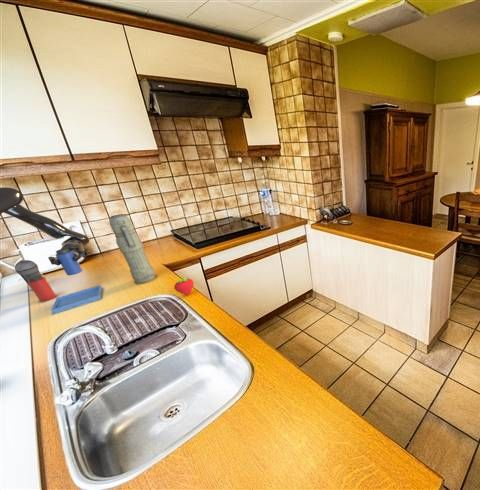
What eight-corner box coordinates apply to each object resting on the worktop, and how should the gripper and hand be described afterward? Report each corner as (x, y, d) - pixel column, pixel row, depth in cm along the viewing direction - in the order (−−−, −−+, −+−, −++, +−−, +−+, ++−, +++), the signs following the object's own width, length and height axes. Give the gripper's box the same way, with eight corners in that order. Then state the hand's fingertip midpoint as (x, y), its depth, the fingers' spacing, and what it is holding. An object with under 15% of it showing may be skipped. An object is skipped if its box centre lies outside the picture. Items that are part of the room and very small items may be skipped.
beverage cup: (25, 290, 135) (2, 255, 127) (45, 283, 142) (24, 249, 134) (32, 292, 133) (8, 256, 125) (52, 285, 139) (31, 250, 131)
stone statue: (140, 286, 133) (109, 219, 119) (131, 280, 138) (100, 216, 125) (160, 278, 139) (133, 214, 125) (150, 273, 145) (124, 211, 131)
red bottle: (39, 303, 123) (24, 281, 118) (41, 298, 127) (27, 277, 122) (55, 298, 126) (41, 276, 121) (57, 294, 130) (43, 273, 125)
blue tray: (53, 314, 115) (51, 310, 114) (58, 301, 124) (56, 297, 123) (100, 299, 123) (98, 295, 123) (102, 288, 133) (100, 285, 132)
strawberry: (176, 296, 122) (169, 277, 118) (194, 288, 127) (188, 270, 123) (180, 300, 119) (172, 281, 115) (198, 293, 124) (192, 274, 120)
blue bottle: (66, 276, 123) (52, 253, 118) (67, 272, 127) (54, 250, 122) (81, 272, 126) (69, 249, 121) (82, 269, 130) (70, 246, 125)
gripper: (46, 248, 128) (39, 259, 116) (87, 240, 136) (84, 249, 124) (55, 262, 131) (48, 274, 119) (94, 253, 139) (91, 263, 127)
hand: (66, 261), depth 122 cm, fingers closed on blue bottle, 5 cm apart
